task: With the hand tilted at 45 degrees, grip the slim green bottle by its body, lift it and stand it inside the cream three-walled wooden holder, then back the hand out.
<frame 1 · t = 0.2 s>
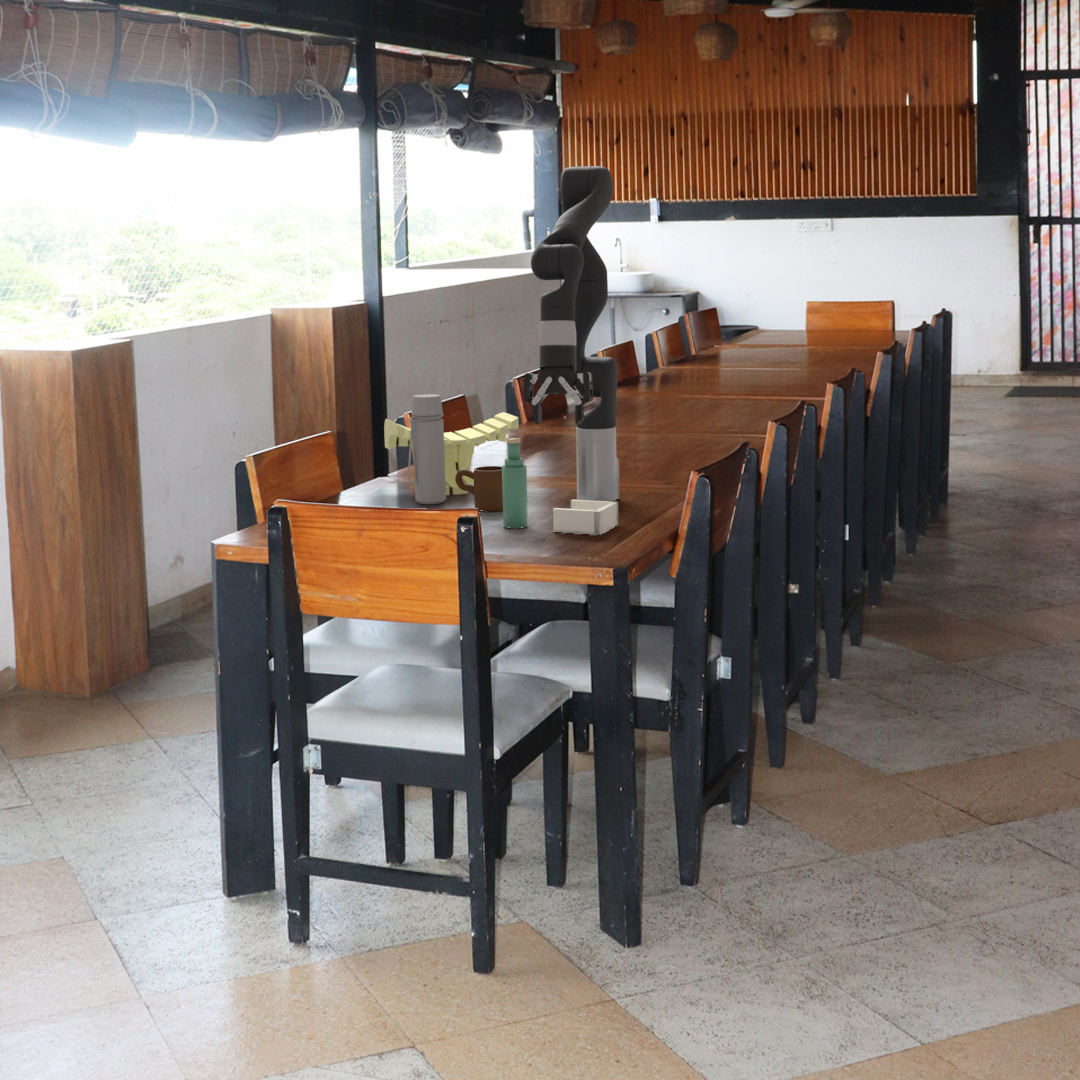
hand: (558, 423, 278), 22 cm above the table, tool pointing down, fingers open, 8 cm apart
water bottle: (427, 503, 318), on the table
mug: (481, 510, 309), on the table
green bottle: (515, 526, 289), on the table
holder: (583, 528, 285), on the table
slatted curved stool: (452, 489, 336), on the table
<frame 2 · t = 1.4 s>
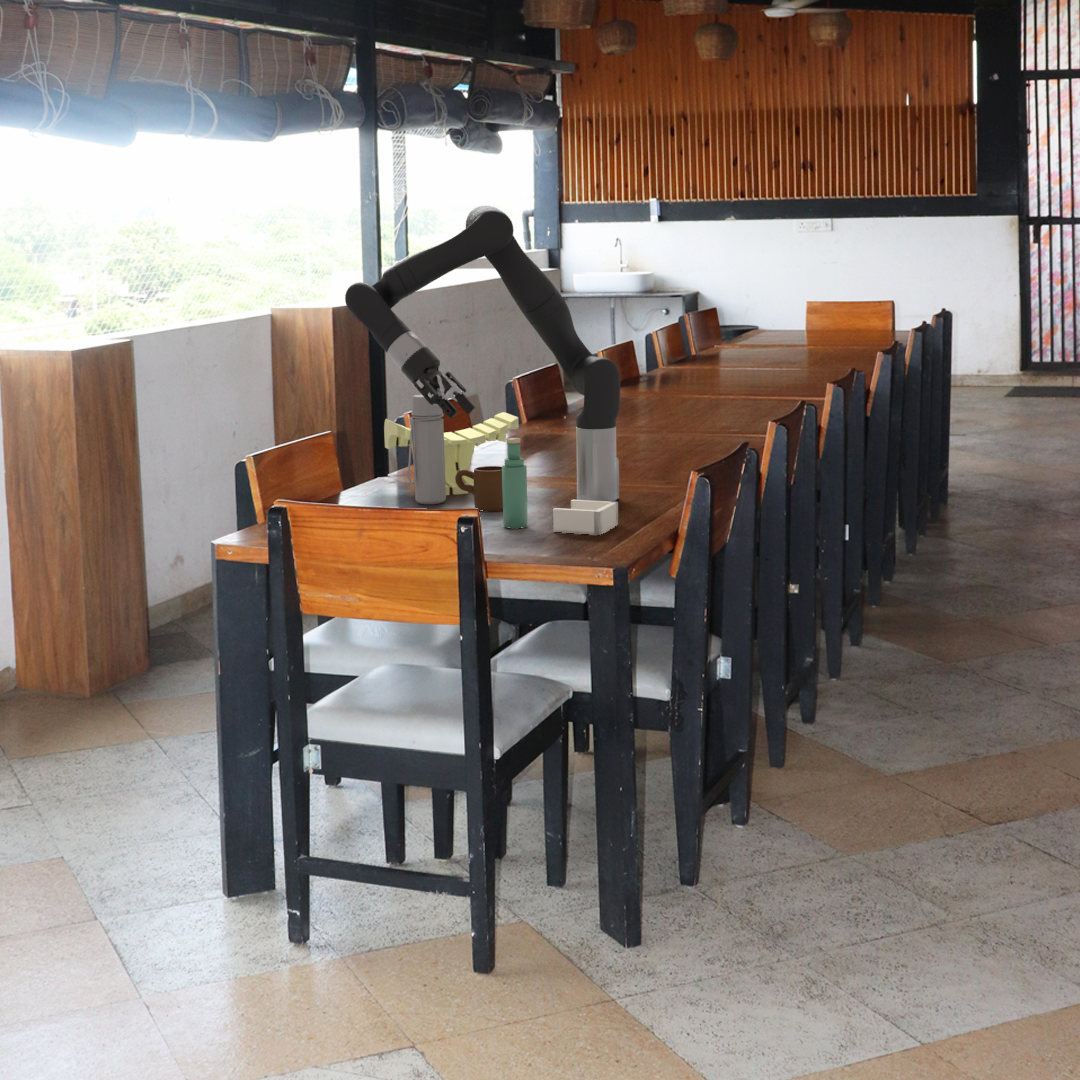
hand: (463, 413, 288), 24 cm above the table, tool tilted 45°, fingers open, 8 cm apart
nothing on the table moved.
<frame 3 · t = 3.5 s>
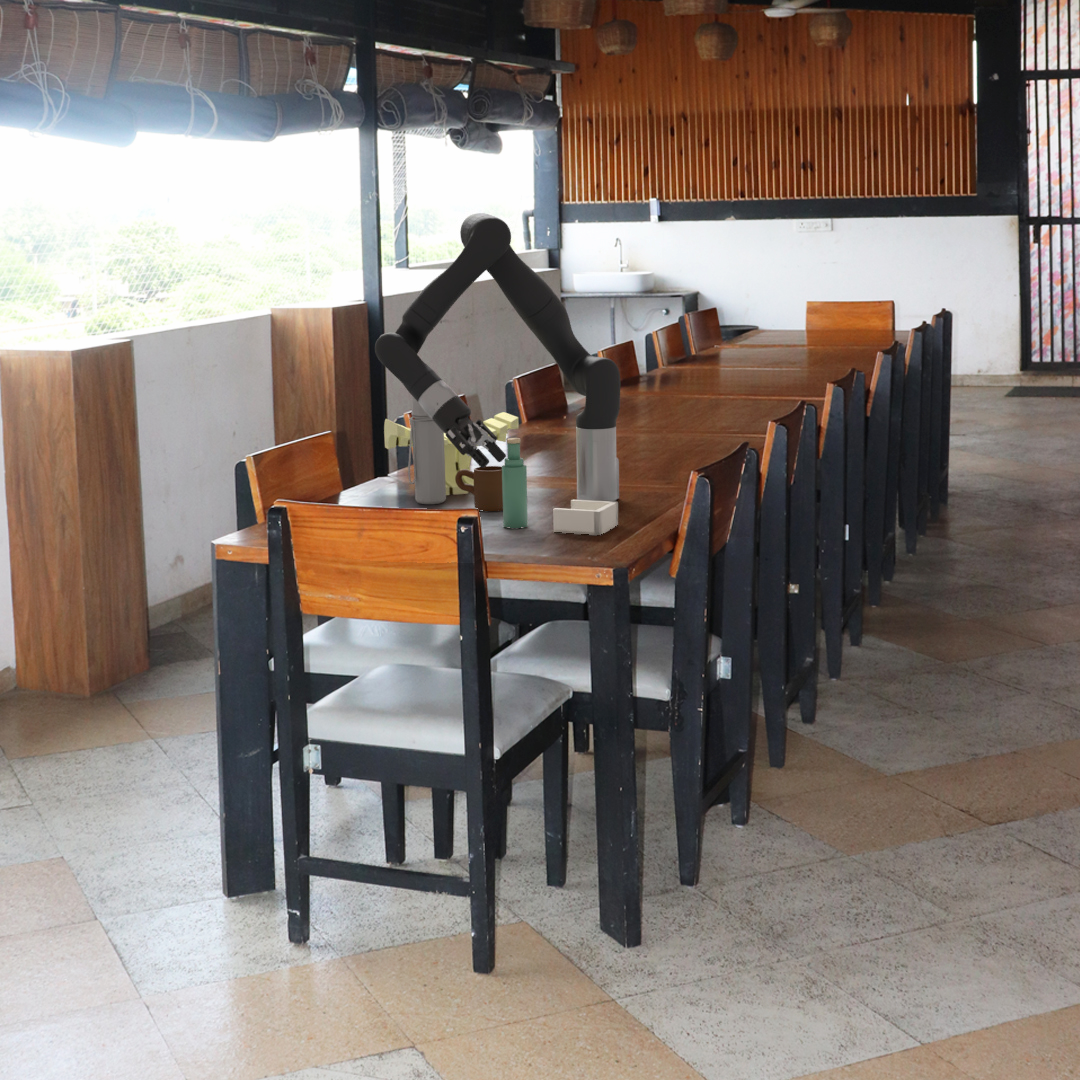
hand: (494, 462, 287), 14 cm above the table, tool tilted 45°, fingers open, 8 cm apart
nothing on the table moved.
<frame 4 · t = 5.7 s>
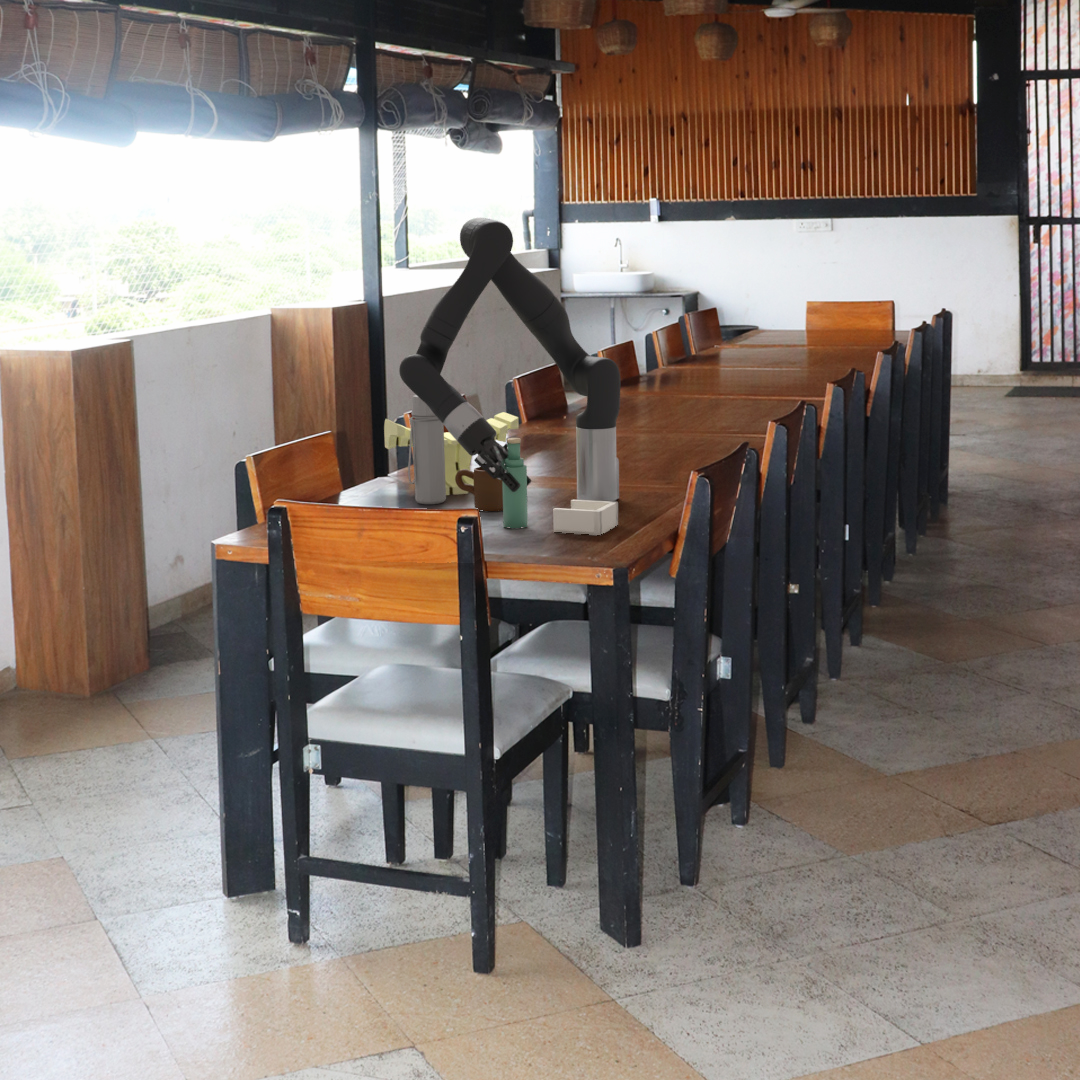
hand: (522, 486, 286), 9 cm above the table, tool tilted 45°, fingers closed on green bottle, 5 cm apart
green bottle: (515, 526, 289), on the table, touching gripper
everything else where it was.
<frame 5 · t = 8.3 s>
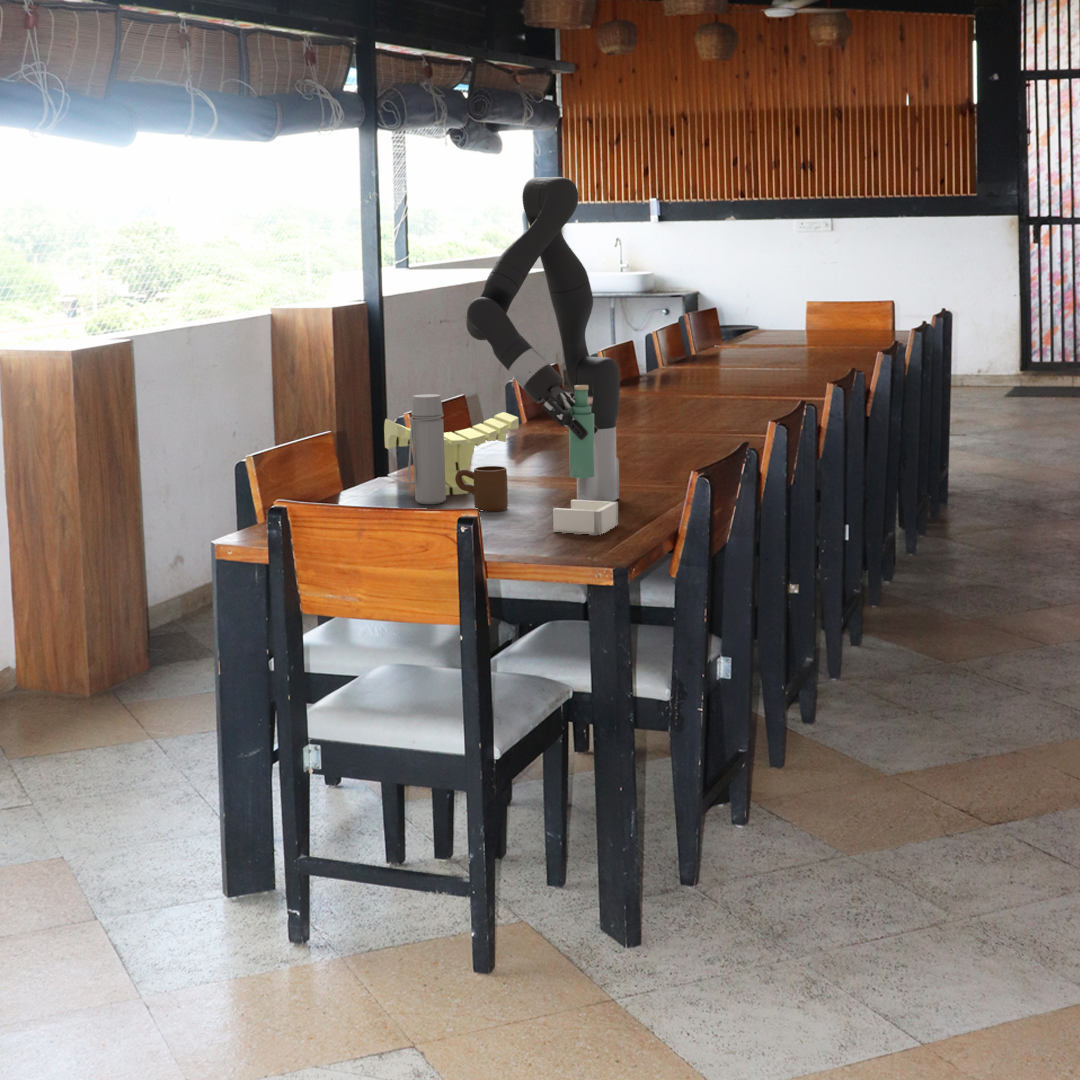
hand: (589, 434, 280), 20 cm above the table, tool tilted 45°, fingers closed on green bottle, 5 cm apart
green bottle: (582, 475, 283), point 11 cm above the table, touching gripper
everything else where it was.
when the fingers open (10 cm above the table, at t = 11.0 s): green bottle stays where it is, resting on holder.
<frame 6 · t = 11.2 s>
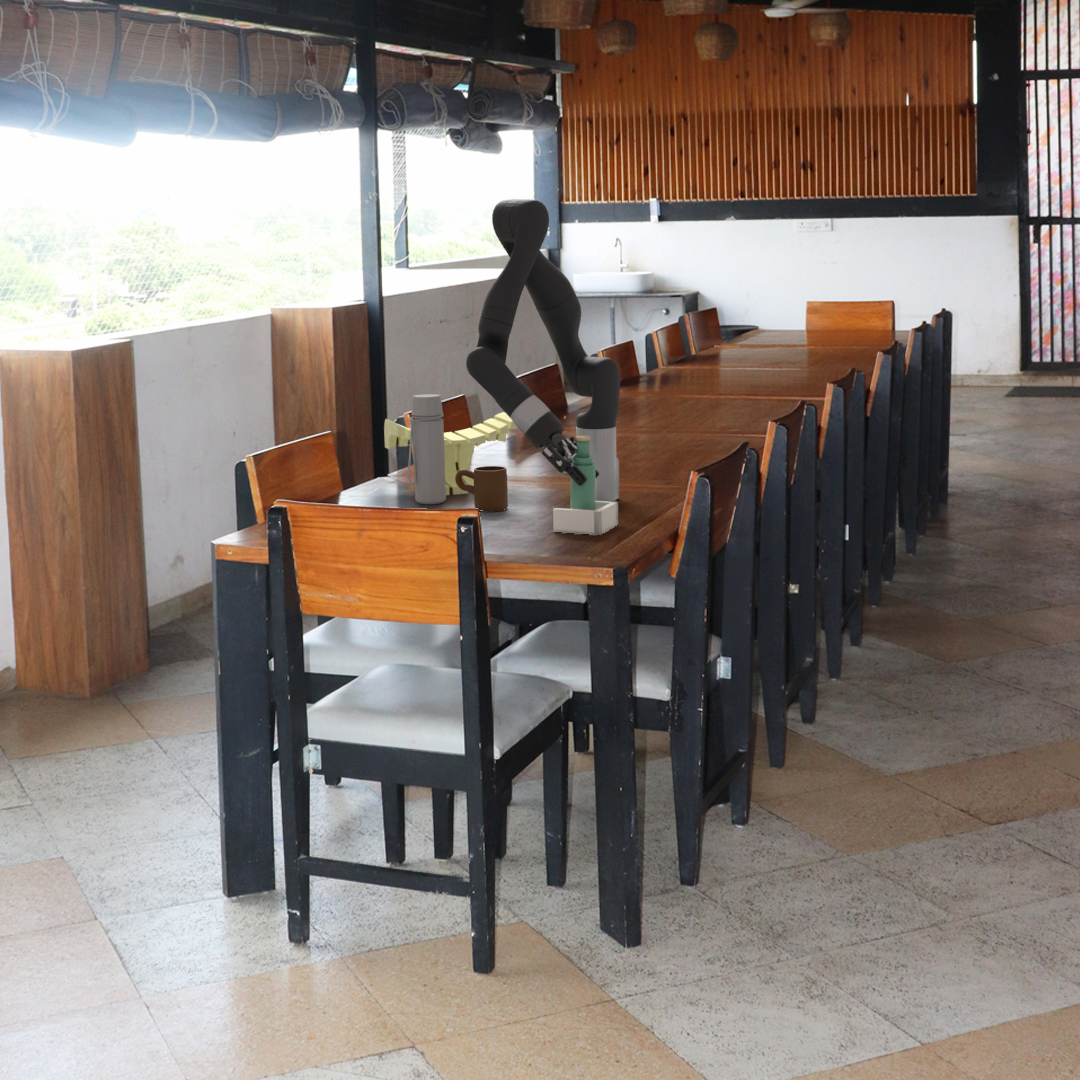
hand: (590, 480, 282), 10 cm above the table, tool tilted 45°, fingers open, 6 cm apart
green bottle: (582, 525, 285), point 1 cm above the table, touching holder
everything else where it was.
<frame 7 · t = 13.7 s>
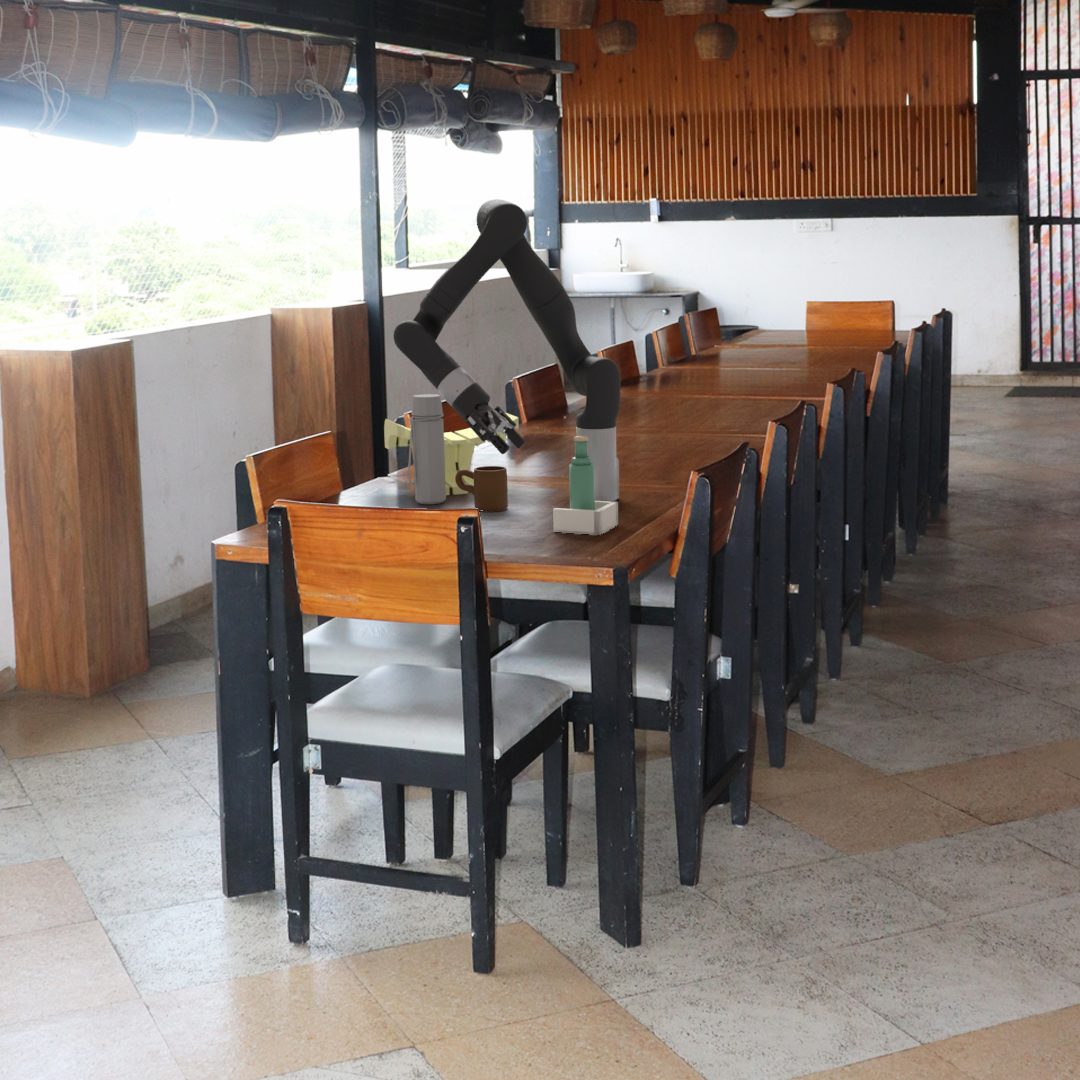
hand: (514, 448, 289), 16 cm above the table, tool tilted 45°, fingers open, 8 cm apart
nothing on the table moved.
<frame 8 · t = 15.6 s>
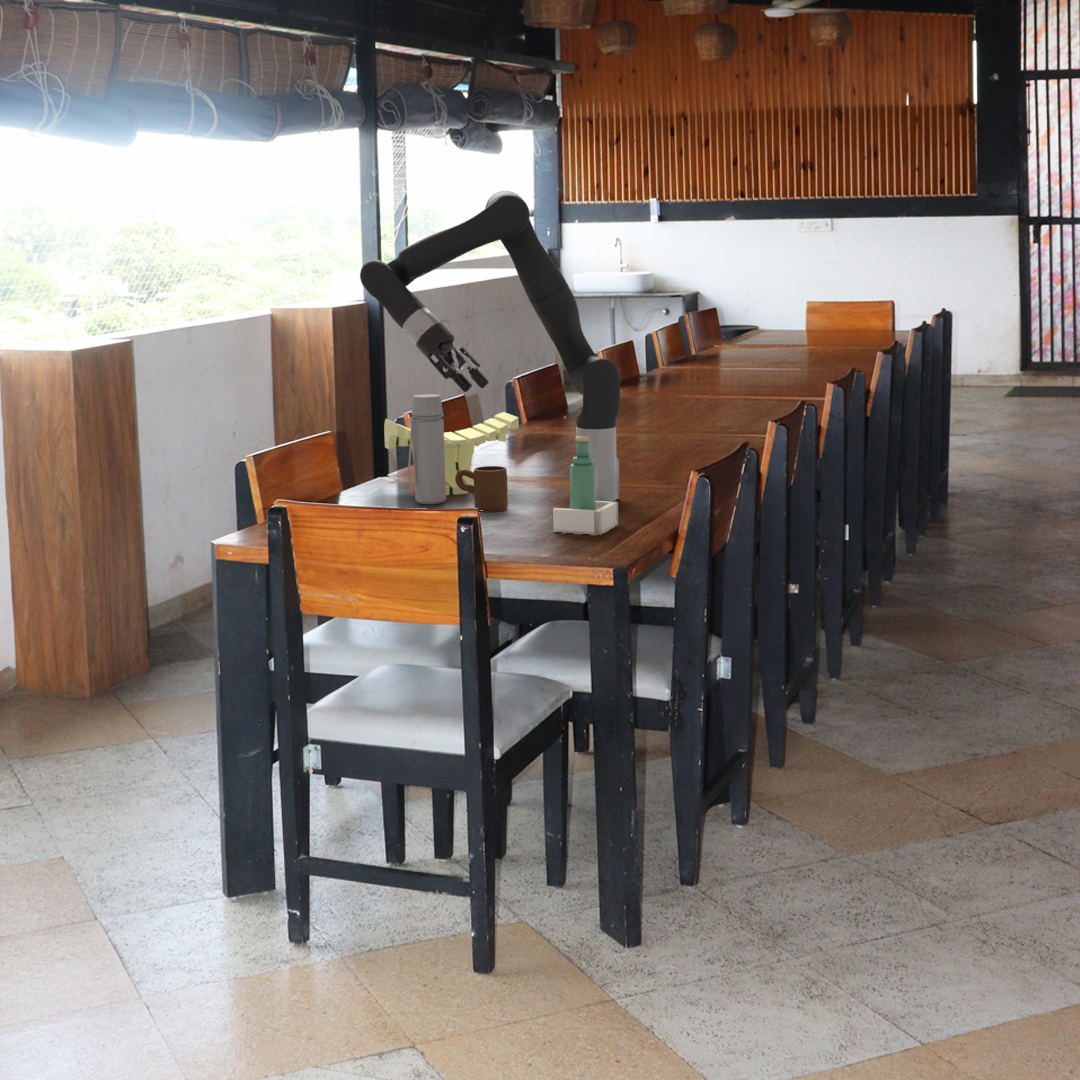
hand: (477, 387, 293), 29 cm above the table, tool tilted 45°, fingers open, 8 cm apart
nothing on the table moved.
at the end: green bottle inside the target area on the holder (0.1 cm from its centre), point 0.6 cm above the holder's base; green bottle tilted 1°; the gripper is holding nothing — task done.
